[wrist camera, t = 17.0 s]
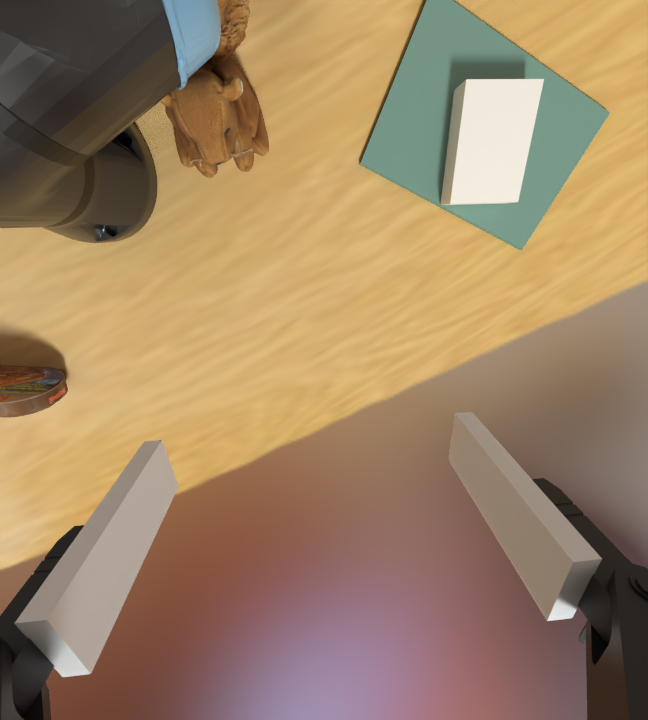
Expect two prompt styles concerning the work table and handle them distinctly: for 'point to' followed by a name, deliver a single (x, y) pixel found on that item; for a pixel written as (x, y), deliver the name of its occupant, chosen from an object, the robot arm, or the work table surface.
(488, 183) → the card box
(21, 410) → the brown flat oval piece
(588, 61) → the work table surface
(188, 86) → the stuffed squirrel
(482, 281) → the work table surface
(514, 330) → the work table surface
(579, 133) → the mat
